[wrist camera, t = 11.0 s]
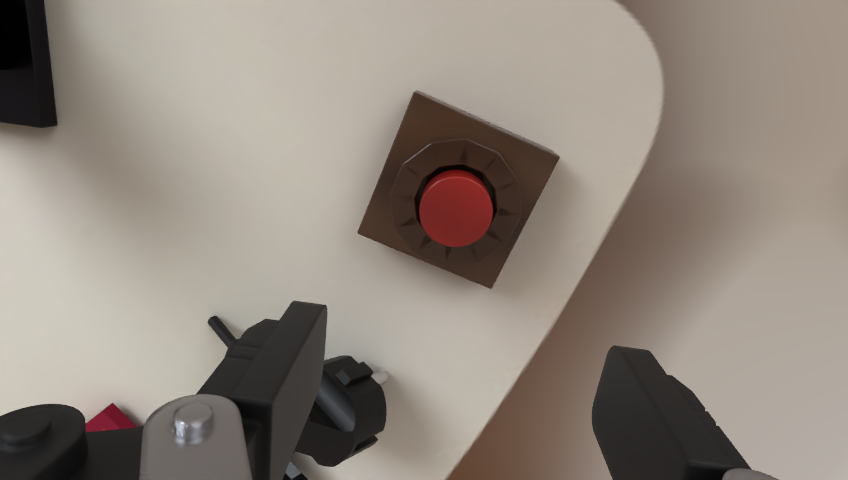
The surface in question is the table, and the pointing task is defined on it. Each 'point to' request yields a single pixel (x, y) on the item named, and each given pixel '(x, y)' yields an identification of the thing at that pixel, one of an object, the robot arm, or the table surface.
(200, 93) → the table surface
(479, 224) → the button
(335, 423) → the power plug
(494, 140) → the button block
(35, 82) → the switch bracket
